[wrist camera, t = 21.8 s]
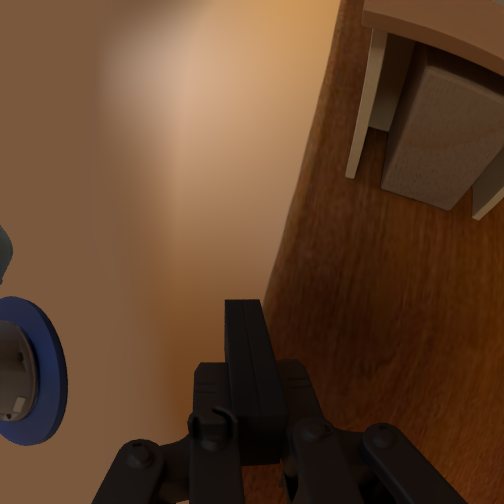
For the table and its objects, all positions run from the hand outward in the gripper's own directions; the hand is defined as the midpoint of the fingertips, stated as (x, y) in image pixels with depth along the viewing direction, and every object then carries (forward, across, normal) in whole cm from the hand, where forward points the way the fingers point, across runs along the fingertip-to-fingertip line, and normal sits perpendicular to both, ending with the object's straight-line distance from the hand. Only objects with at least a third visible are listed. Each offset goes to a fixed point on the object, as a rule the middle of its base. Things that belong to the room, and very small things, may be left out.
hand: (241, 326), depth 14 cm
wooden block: (+24, +25, +6) cm, 36 cm away
